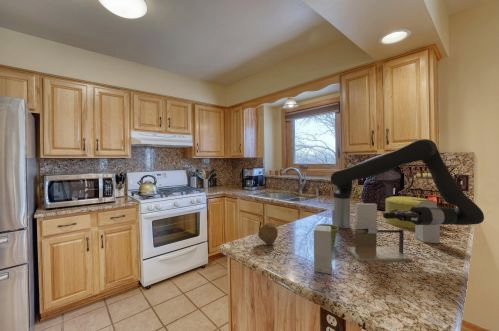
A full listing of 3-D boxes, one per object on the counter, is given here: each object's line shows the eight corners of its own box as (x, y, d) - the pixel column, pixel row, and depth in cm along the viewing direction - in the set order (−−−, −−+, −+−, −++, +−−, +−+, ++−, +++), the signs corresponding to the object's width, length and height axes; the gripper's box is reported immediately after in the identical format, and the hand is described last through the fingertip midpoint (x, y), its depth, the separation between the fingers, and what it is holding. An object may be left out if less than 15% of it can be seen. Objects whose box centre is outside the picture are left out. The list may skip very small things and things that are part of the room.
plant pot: (337, 243, 107) (338, 225, 107) (338, 250, 98) (339, 230, 98) (317, 240, 110) (317, 223, 110) (316, 247, 101) (316, 228, 101)
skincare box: (331, 274, 78) (331, 232, 77) (313, 271, 80) (313, 230, 80) (331, 264, 86) (332, 225, 85) (315, 261, 88) (315, 223, 87)
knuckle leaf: (357, 233, 93) (358, 204, 92) (354, 231, 96) (355, 203, 95) (377, 233, 93) (377, 204, 92) (373, 231, 95) (373, 203, 95)
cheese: (448, 229, 129) (448, 203, 128) (402, 229, 129) (402, 203, 129) (415, 217, 155) (415, 195, 154) (377, 217, 155) (377, 195, 155)
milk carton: (439, 243, 107) (440, 203, 106) (422, 242, 108) (423, 203, 108) (430, 238, 114) (431, 200, 113) (415, 237, 115) (415, 200, 115)
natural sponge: (255, 246, 103) (255, 224, 103) (261, 240, 111) (261, 220, 111) (275, 249, 100) (275, 227, 99) (279, 242, 108) (279, 221, 108)
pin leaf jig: (358, 260, 88) (359, 233, 88) (345, 248, 100) (346, 224, 100) (412, 261, 88) (413, 233, 88) (393, 248, 100) (393, 224, 100)
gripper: (439, 229, 86) (394, 229, 87) (414, 220, 100) (375, 220, 100) (439, 210, 86) (394, 209, 86) (414, 203, 99) (375, 203, 100)
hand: (384, 215), depth 93 cm, fingers closed
